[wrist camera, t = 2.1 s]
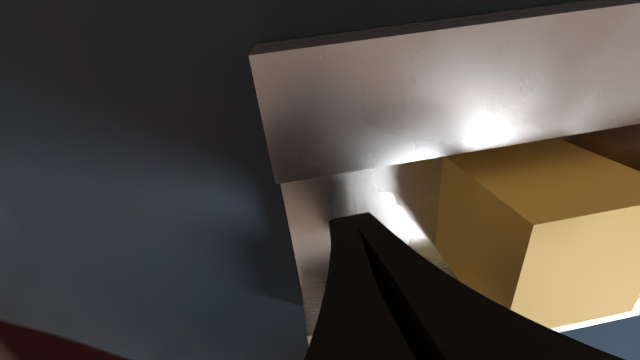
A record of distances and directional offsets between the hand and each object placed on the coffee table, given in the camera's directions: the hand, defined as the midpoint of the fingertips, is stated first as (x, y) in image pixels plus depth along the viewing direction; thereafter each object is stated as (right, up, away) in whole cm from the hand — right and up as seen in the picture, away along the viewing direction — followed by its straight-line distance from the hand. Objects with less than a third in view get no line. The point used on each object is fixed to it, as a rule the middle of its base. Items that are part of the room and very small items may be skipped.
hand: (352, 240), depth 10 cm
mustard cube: (+5, +1, +1) cm, 6 cm away
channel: (+6, +2, +3) cm, 7 cm away
